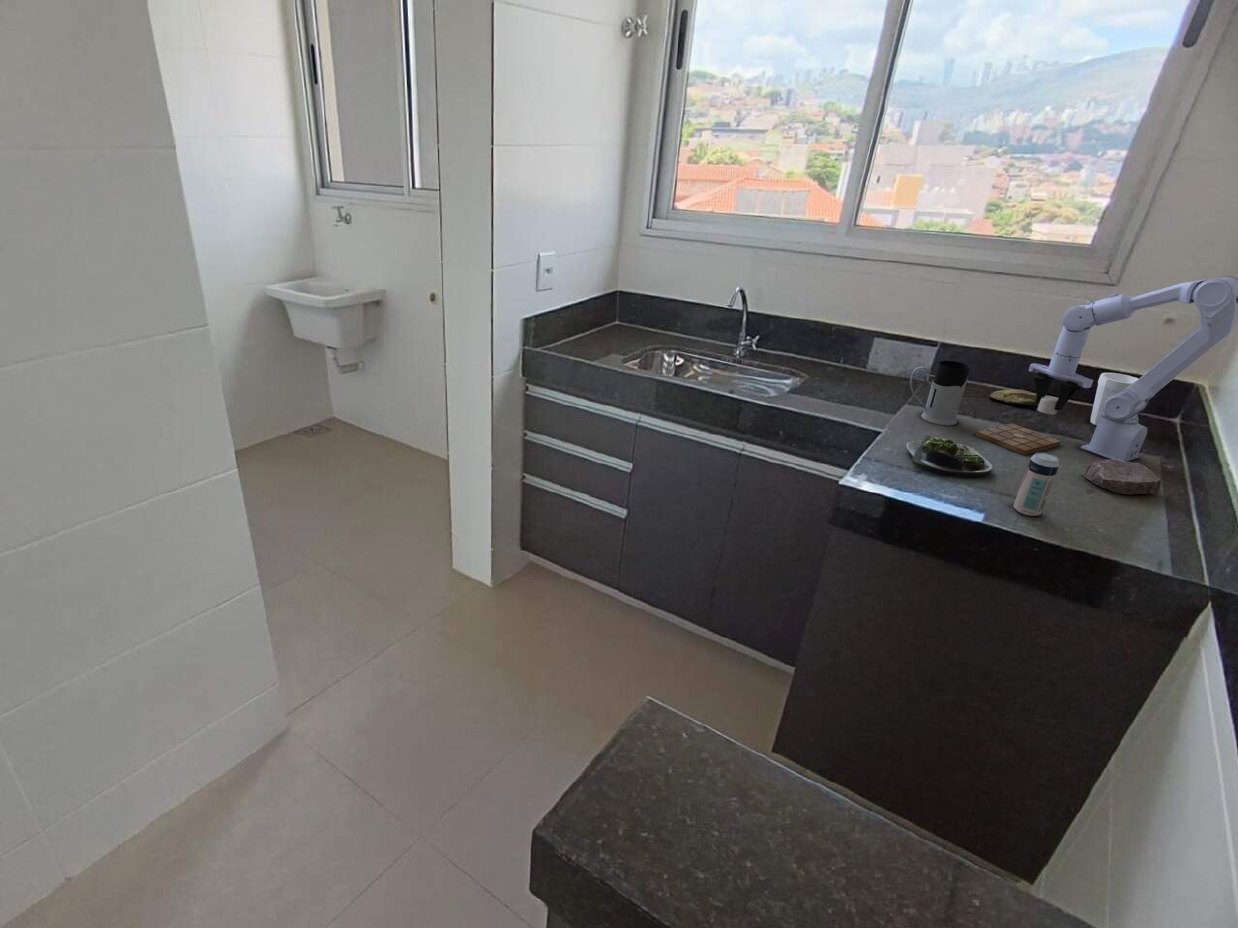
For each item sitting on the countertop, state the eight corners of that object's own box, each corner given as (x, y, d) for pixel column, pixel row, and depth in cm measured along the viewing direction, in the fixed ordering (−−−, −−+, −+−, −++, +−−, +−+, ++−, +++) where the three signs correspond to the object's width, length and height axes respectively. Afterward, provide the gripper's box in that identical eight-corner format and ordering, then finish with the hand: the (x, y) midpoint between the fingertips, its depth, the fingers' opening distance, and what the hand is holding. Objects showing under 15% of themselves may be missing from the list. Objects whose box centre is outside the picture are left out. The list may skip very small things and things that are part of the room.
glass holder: (961, 426, 171) (978, 371, 164) (905, 421, 172) (919, 366, 166) (950, 414, 179) (965, 361, 172) (896, 409, 180) (910, 356, 173)
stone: (1079, 474, 147) (1087, 455, 145) (1135, 480, 146) (1144, 462, 144) (1099, 492, 139) (1108, 473, 137) (1159, 499, 138) (1169, 480, 136)
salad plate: (889, 439, 160) (893, 422, 158) (963, 444, 160) (969, 427, 158) (916, 474, 143) (921, 455, 141) (1000, 481, 142) (1006, 461, 140)
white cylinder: (1060, 413, 168) (1065, 399, 166) (1050, 415, 166) (1055, 402, 164) (1043, 407, 171) (1047, 394, 170) (1033, 409, 169) (1038, 396, 168)
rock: (1046, 405, 190) (1049, 393, 189) (1035, 408, 183) (1038, 395, 182) (997, 397, 199) (1000, 386, 198) (985, 400, 192) (988, 387, 191)
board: (1058, 445, 163) (1060, 440, 162) (1024, 455, 156) (1025, 450, 155) (1010, 427, 172) (1012, 422, 172) (975, 435, 166) (977, 430, 165)
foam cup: (1132, 428, 176) (1151, 382, 171) (1111, 432, 173) (1130, 385, 167) (1096, 415, 184) (1113, 371, 178) (1076, 419, 180) (1093, 374, 175)
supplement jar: (1030, 505, 132) (1050, 451, 127) (1045, 518, 128) (1066, 462, 123) (1007, 505, 132) (1027, 451, 127) (1021, 517, 128) (1042, 461, 123)
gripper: (1107, 361, 158) (1086, 413, 164) (1047, 345, 169) (1030, 395, 175) (1091, 364, 155) (1071, 417, 161) (1031, 348, 166) (1014, 398, 172)
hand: (1048, 406), depth 168 cm, fingers closed on white cylinder, 4 cm apart
